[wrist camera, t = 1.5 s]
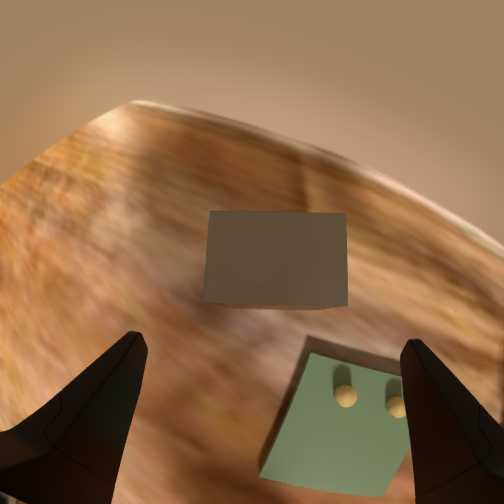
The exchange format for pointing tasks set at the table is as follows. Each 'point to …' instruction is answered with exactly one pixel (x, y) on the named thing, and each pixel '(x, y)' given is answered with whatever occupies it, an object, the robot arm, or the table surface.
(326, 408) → the tray
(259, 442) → the table surface
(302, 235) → the grey block
